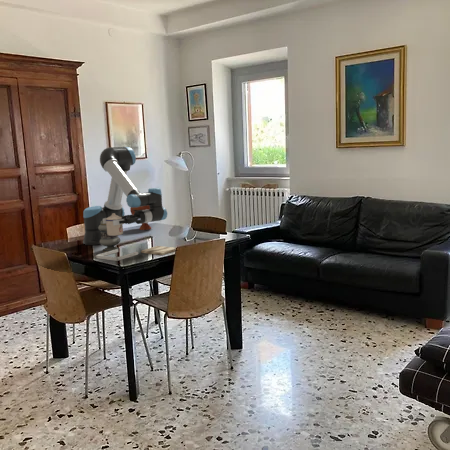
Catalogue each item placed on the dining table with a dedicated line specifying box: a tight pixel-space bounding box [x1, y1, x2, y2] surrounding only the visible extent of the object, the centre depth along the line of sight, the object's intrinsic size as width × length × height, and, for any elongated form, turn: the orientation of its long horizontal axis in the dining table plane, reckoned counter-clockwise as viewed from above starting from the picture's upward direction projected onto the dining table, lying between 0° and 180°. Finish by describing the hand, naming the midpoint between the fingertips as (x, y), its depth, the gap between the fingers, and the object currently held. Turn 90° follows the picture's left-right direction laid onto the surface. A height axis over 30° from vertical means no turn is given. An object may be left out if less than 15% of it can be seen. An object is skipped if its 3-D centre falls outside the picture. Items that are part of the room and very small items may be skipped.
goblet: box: [129, 205, 152, 231], centre depth 358 cm, size 19×19×25 cm
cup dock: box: [95, 249, 139, 262], centre depth 274 cm, size 23×16×2 cm
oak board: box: [140, 245, 176, 256], centre depth 280 cm, size 16×14×1 cm
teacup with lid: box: [106, 213, 124, 236], centre depth 270 cm, size 12×9×12 cm
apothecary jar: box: [98, 221, 121, 253], centre depth 288 cm, size 12×12×18 cm
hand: (108, 222), depth 267 cm, fingers closed on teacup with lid, 11 cm apart
